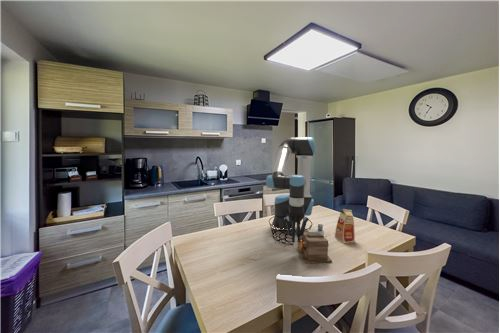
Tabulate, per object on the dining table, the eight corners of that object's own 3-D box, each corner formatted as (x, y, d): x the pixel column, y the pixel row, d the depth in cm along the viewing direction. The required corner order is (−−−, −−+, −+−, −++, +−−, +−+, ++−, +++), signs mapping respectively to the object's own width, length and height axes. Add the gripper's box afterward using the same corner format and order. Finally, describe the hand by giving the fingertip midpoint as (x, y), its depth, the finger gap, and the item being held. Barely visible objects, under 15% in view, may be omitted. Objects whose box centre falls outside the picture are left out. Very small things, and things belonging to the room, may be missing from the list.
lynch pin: (297, 247, 119) (298, 238, 118) (325, 246, 120) (325, 237, 119) (300, 251, 114) (300, 242, 113) (329, 251, 115) (329, 241, 114)
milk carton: (343, 243, 131) (345, 211, 129) (333, 237, 140) (335, 206, 138) (356, 241, 133) (358, 210, 131) (345, 235, 142) (347, 205, 140)
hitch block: (296, 248, 125) (296, 229, 123) (319, 247, 125) (320, 229, 124) (304, 263, 109) (305, 242, 108) (332, 262, 110) (333, 241, 108)
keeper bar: (307, 233, 117) (307, 224, 117) (321, 233, 118) (322, 223, 117) (309, 236, 114) (309, 226, 114) (323, 235, 115) (324, 225, 114)
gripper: (285, 207, 109) (284, 251, 112) (311, 206, 110) (309, 251, 113) (282, 203, 117) (281, 244, 119) (306, 202, 118) (305, 244, 120)
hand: (295, 247), depth 116 cm, fingers closed
